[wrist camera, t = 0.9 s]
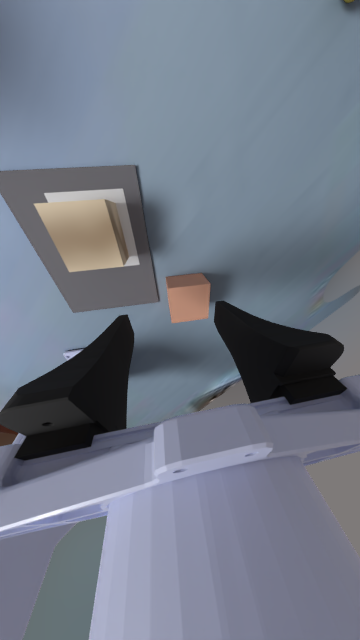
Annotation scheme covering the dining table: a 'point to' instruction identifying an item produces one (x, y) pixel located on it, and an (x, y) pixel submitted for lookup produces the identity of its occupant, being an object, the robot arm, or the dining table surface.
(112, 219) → the beech block
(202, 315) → the terracotta block
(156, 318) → the dining table surface
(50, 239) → the grey flat panel
